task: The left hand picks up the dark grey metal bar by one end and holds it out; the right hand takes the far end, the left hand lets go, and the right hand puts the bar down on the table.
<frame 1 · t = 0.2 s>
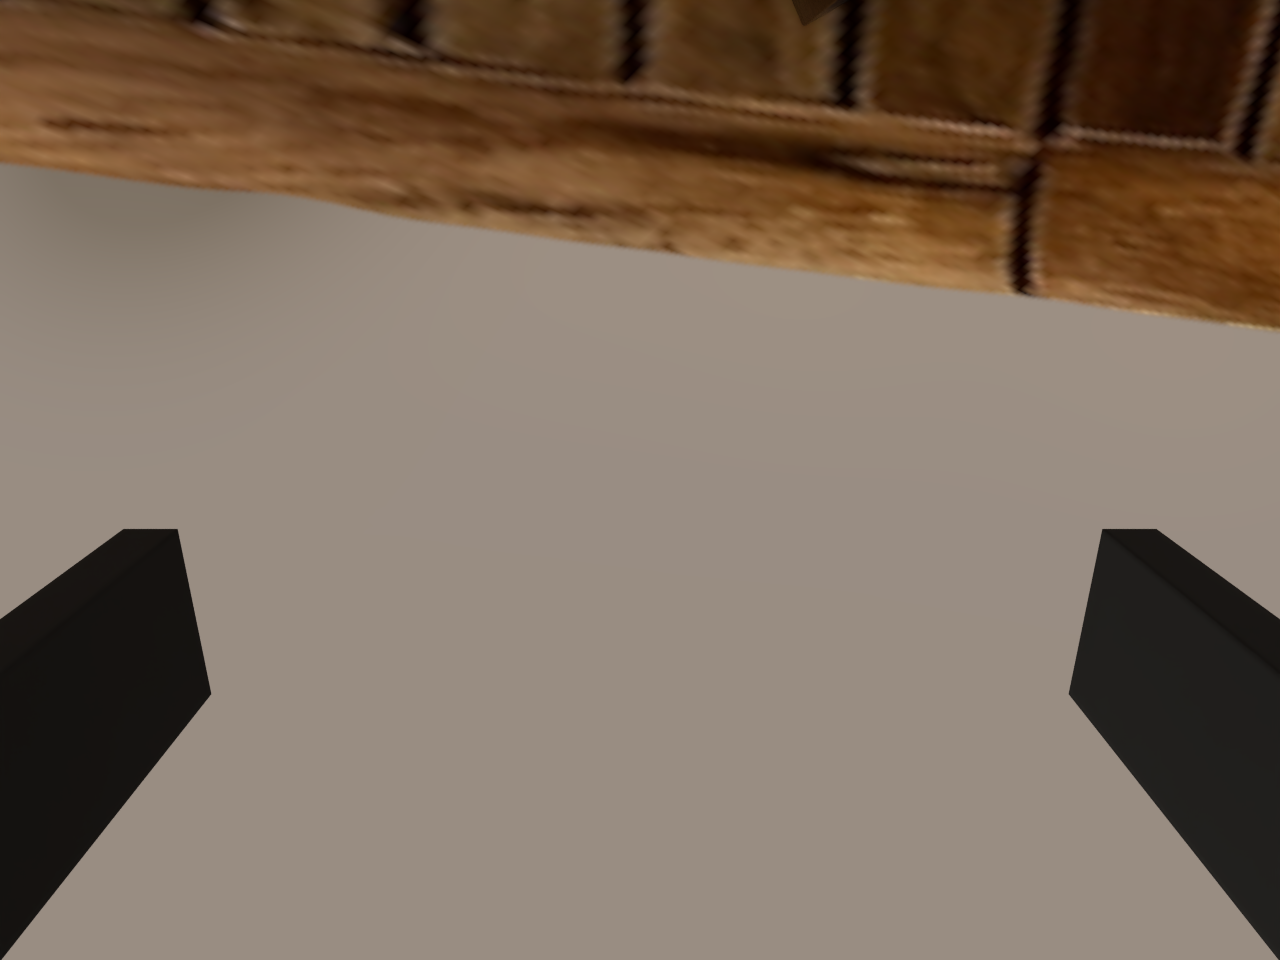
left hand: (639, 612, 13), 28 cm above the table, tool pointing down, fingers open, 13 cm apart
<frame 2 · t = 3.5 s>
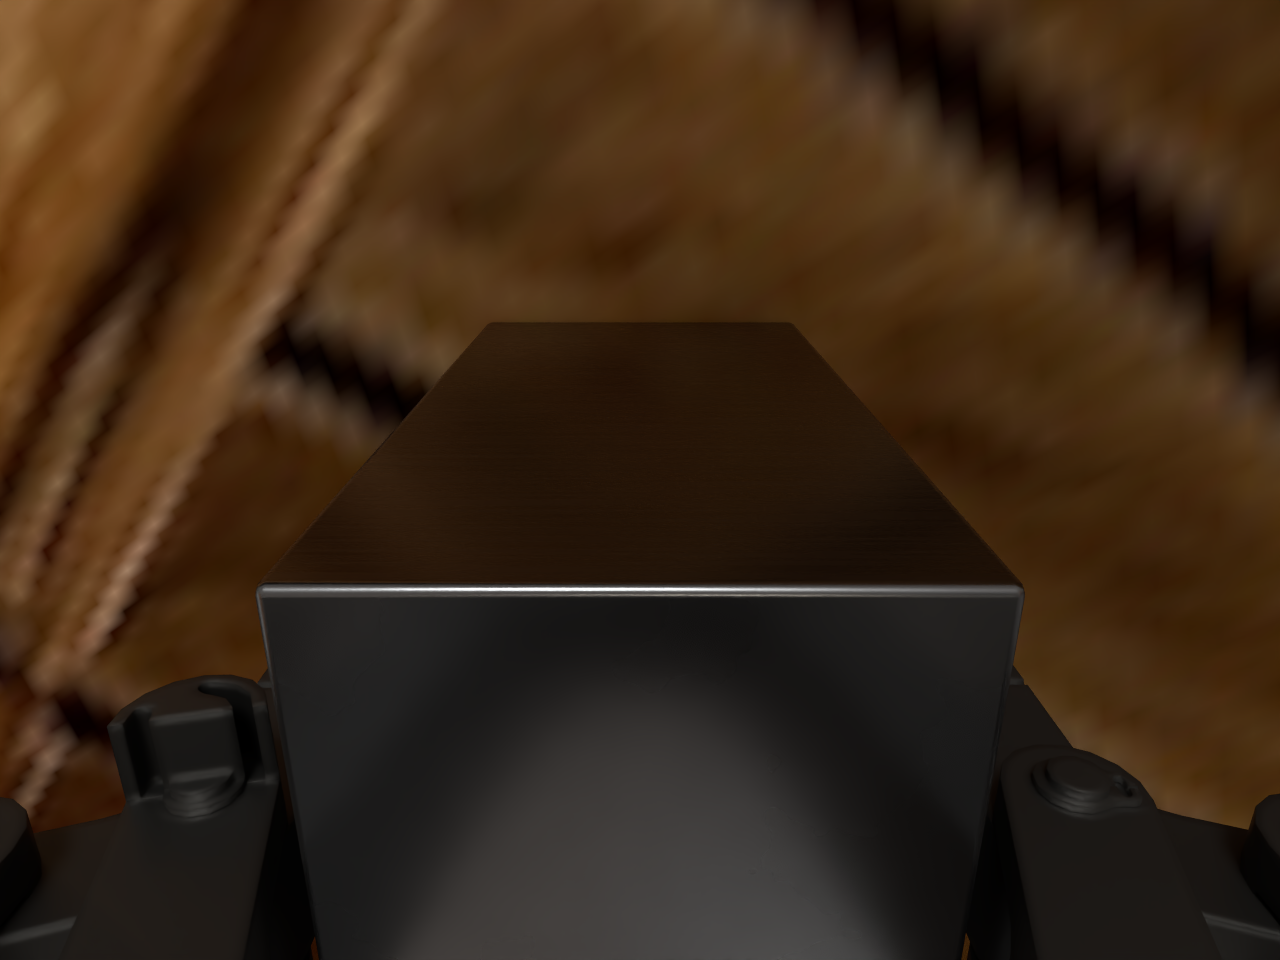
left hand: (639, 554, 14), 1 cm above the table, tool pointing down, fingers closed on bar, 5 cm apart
bar: (640, 939, 18), on the table, touching left hand
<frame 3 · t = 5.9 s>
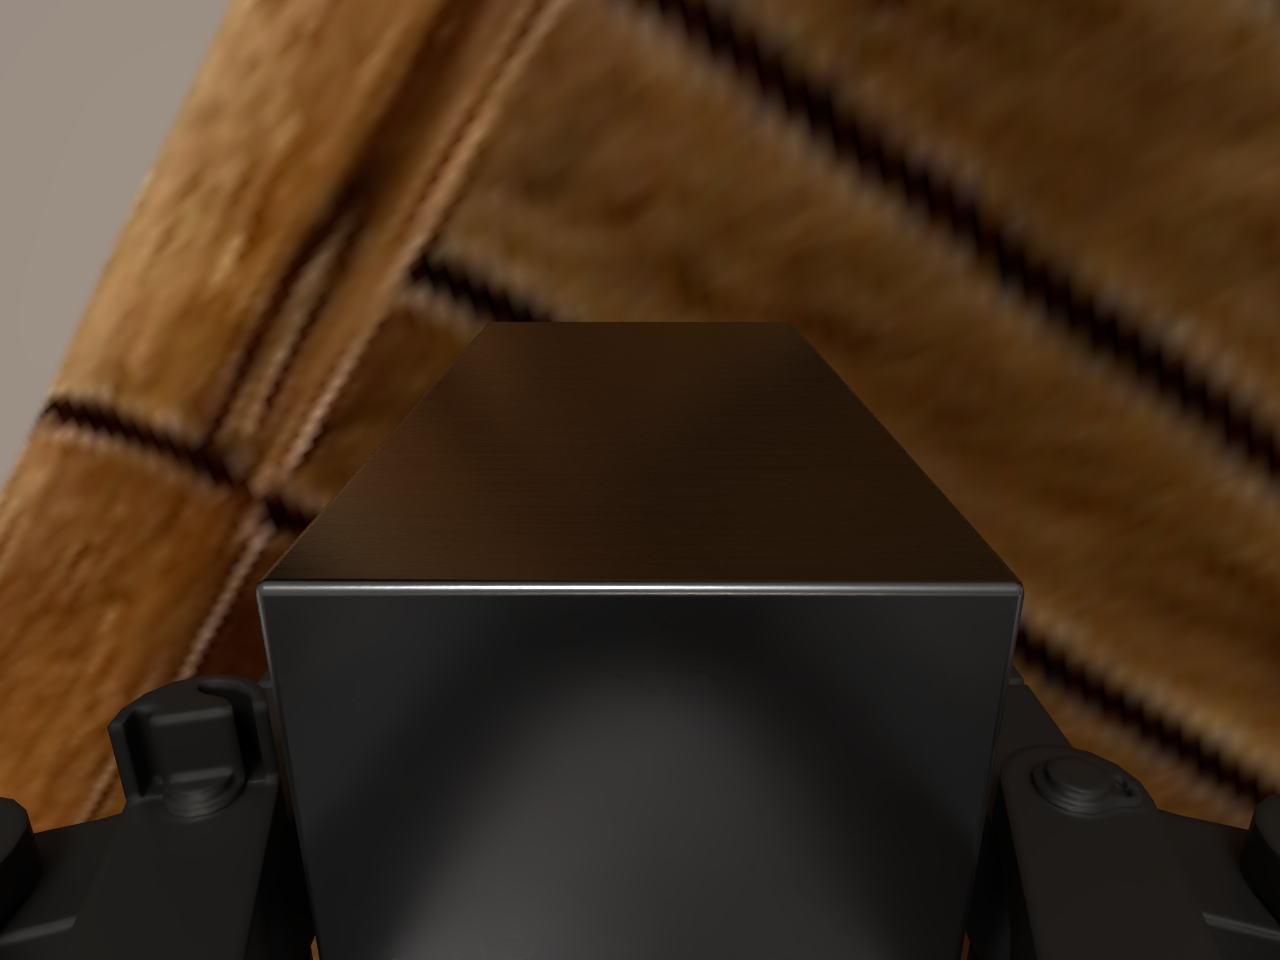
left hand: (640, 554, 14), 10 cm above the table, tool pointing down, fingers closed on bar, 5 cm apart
bar: (640, 939, 18), point 10 cm above the table, touching left hand
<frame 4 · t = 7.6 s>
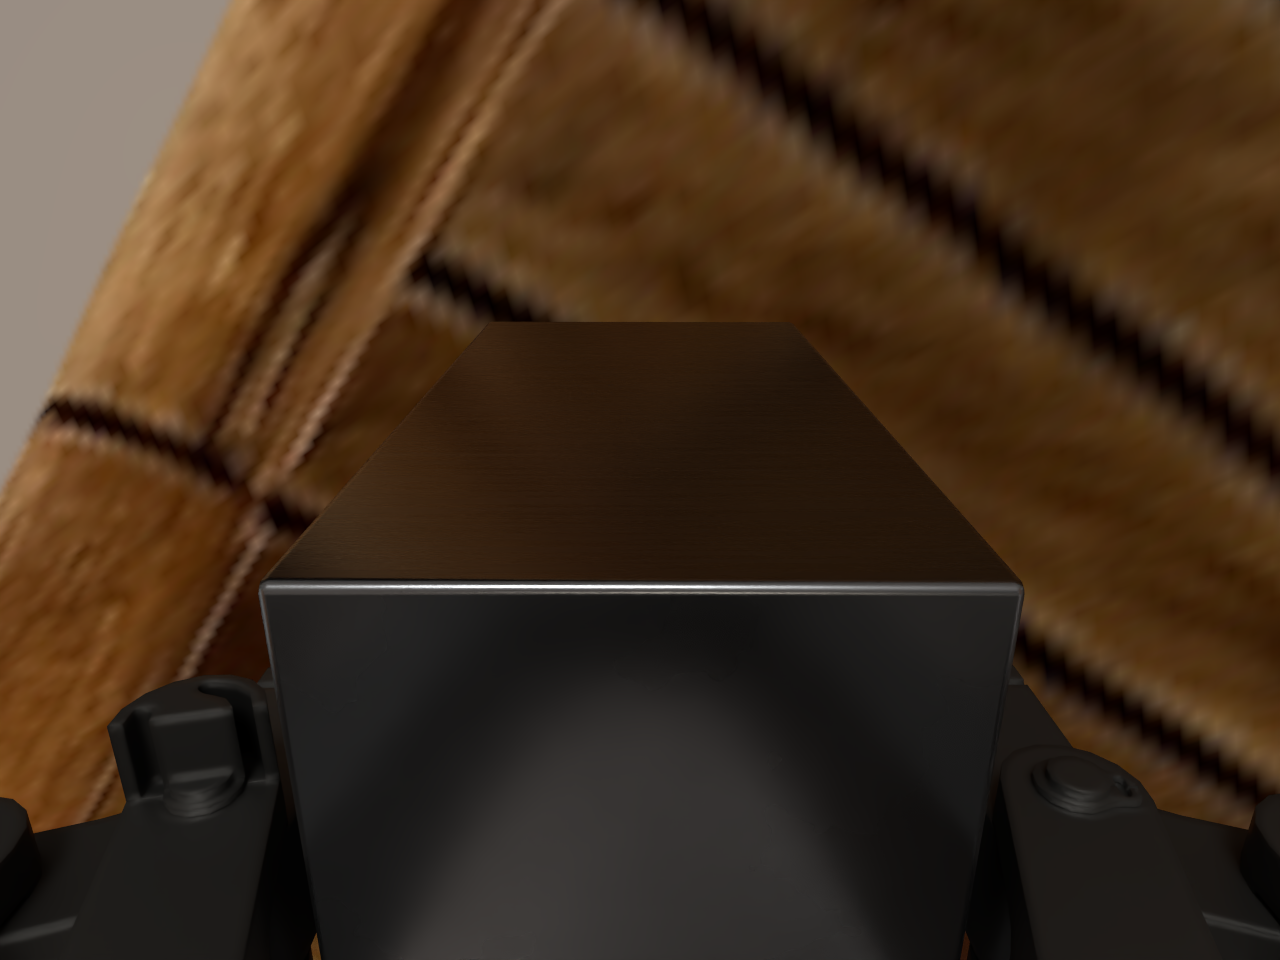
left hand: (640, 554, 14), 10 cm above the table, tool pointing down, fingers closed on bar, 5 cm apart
bar: (639, 938, 18), point 10 cm above the table, touching left hand, right hand
when the left hand's fingers open (10 cm above the table, at t = 8.5 s): bar stays where it is, held by the right hand.
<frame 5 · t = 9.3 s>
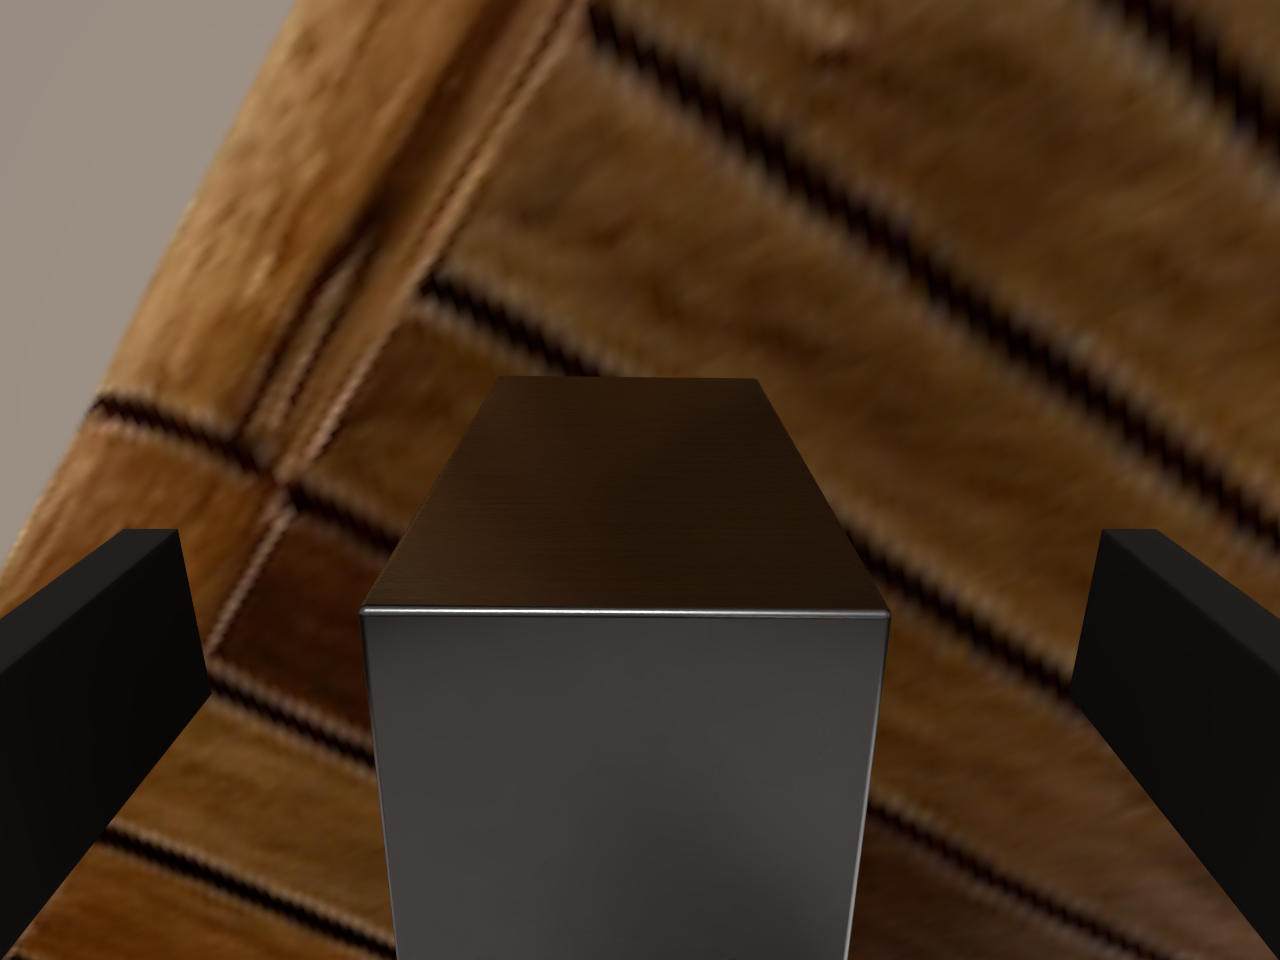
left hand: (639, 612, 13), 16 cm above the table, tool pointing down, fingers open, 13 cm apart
bar: (623, 912, 21), point 11 cm above the table, touching right hand
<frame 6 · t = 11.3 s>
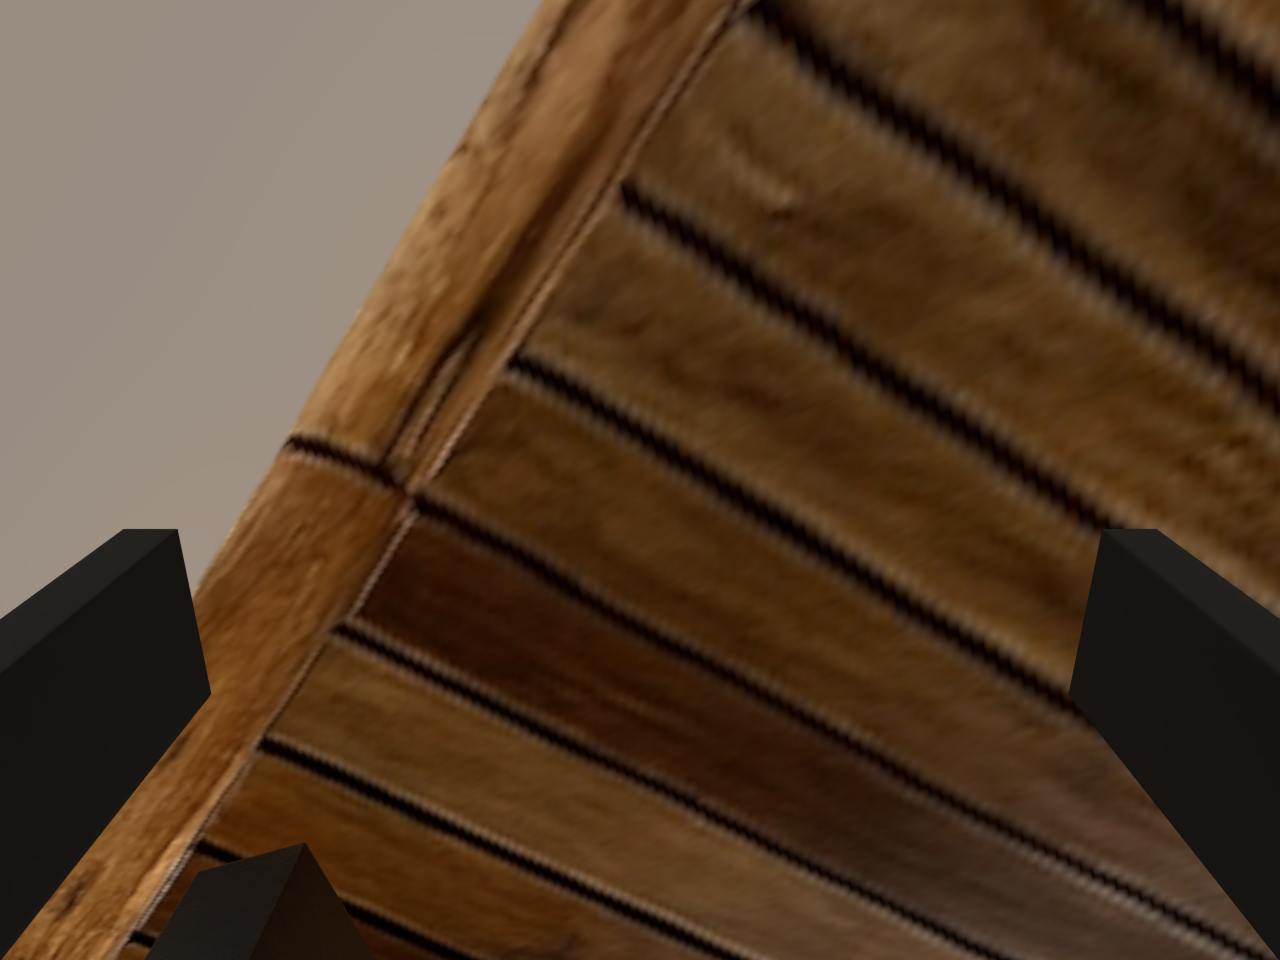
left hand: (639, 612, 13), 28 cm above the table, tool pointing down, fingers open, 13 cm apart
when the right hand's fingers open (5 cm above the table, at t = 12.8 s): bar stays where it is, on the table.
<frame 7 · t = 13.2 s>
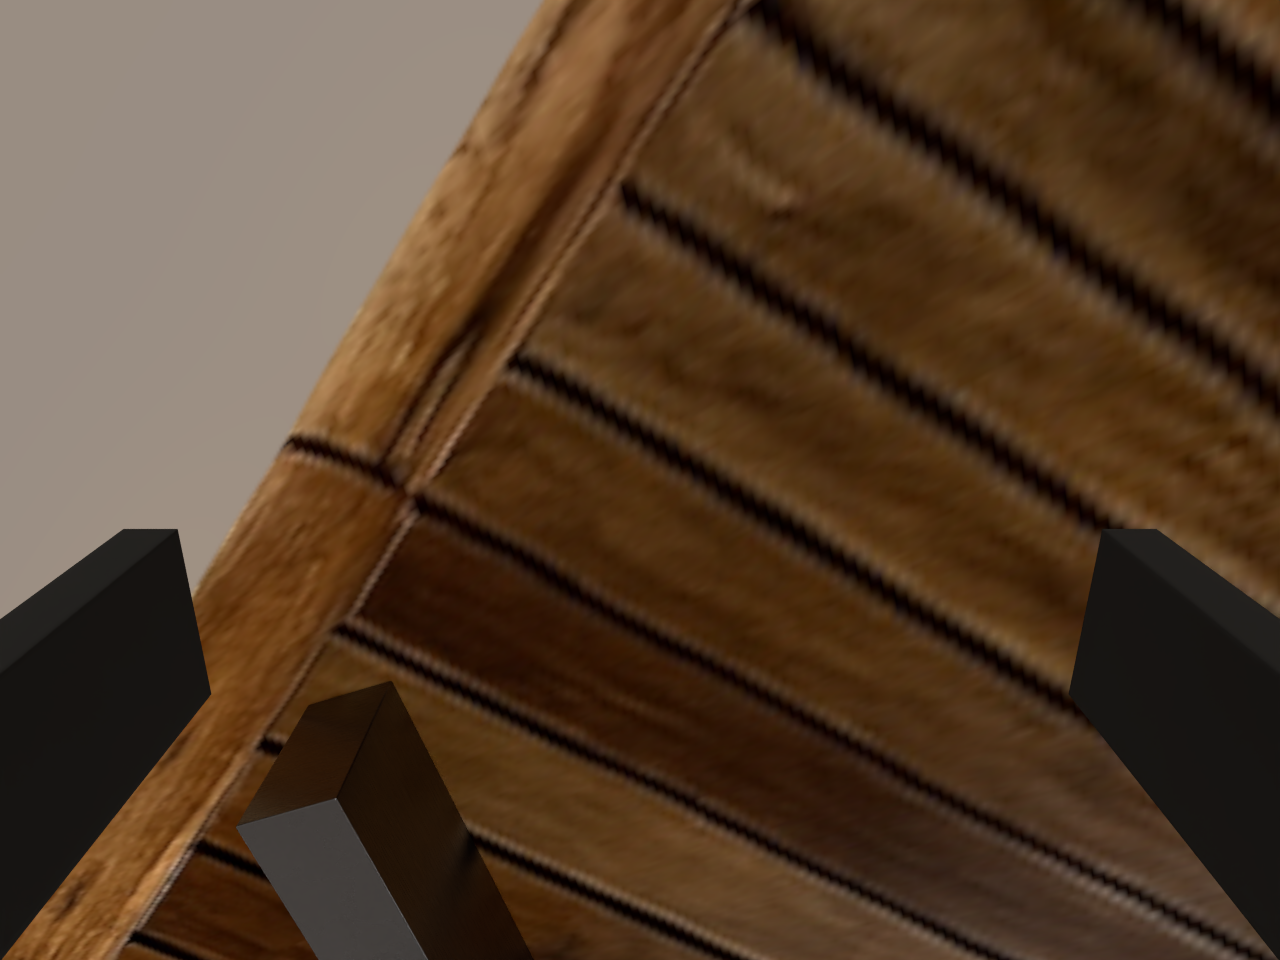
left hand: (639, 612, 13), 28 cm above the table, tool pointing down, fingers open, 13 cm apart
bar: (446, 874, 50), on the table
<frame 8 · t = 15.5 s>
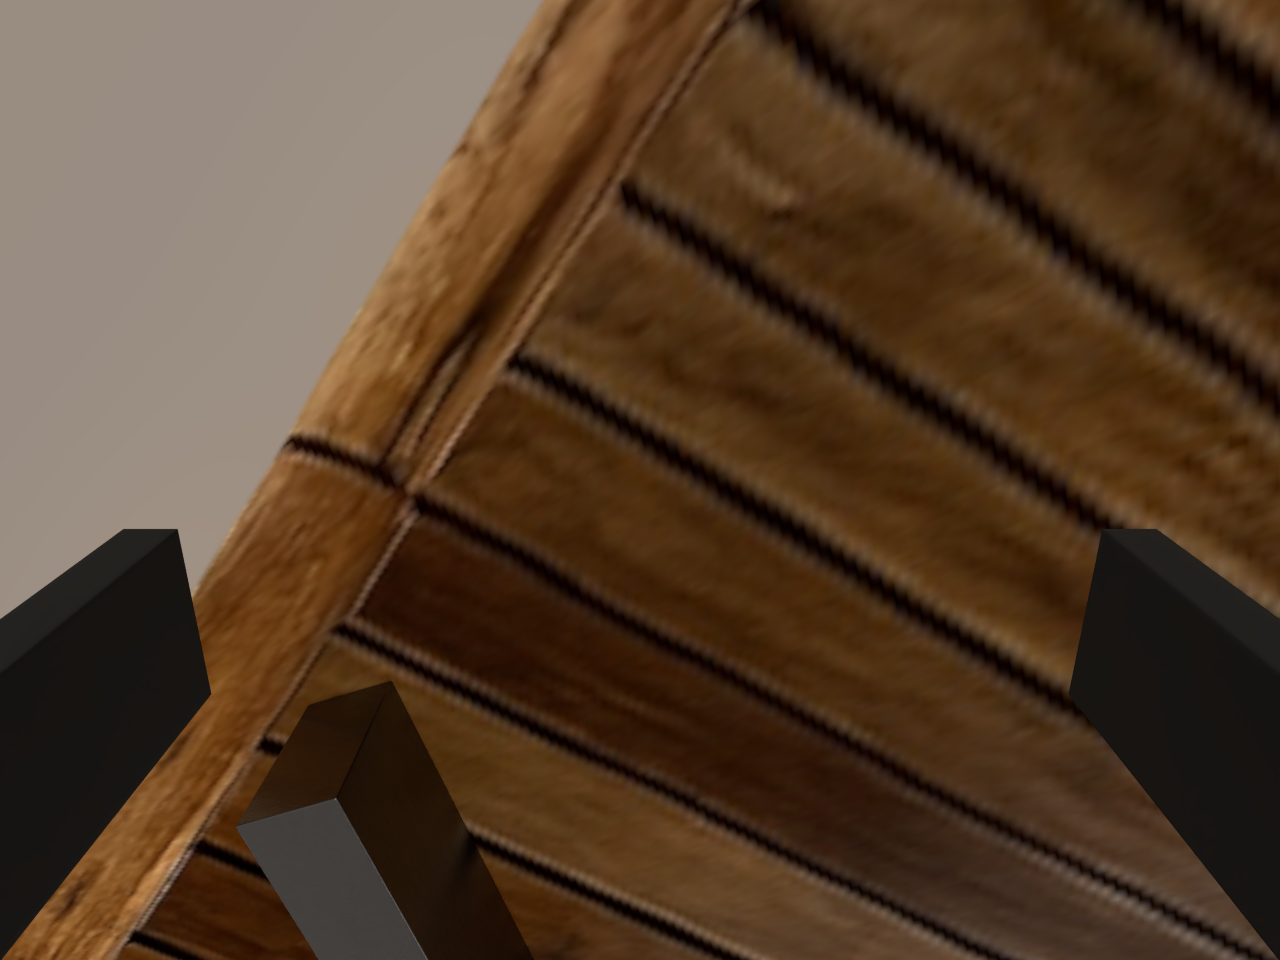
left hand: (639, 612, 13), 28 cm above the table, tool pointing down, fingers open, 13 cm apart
bar: (446, 874, 50), on the table
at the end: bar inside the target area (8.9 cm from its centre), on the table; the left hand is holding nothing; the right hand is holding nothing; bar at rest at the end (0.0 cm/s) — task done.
